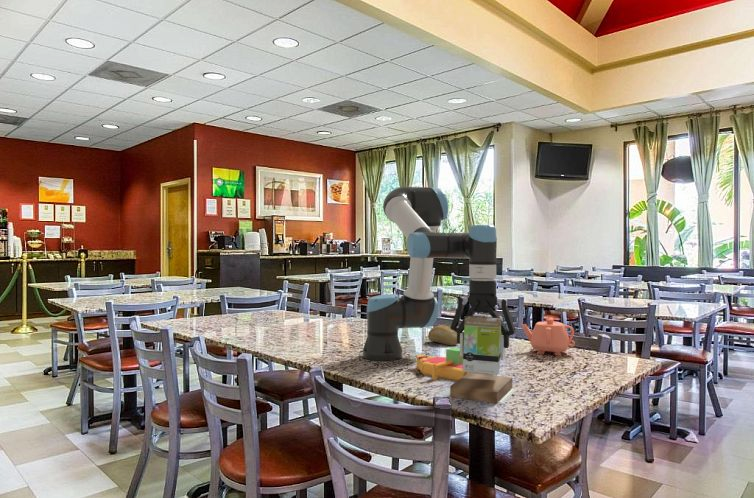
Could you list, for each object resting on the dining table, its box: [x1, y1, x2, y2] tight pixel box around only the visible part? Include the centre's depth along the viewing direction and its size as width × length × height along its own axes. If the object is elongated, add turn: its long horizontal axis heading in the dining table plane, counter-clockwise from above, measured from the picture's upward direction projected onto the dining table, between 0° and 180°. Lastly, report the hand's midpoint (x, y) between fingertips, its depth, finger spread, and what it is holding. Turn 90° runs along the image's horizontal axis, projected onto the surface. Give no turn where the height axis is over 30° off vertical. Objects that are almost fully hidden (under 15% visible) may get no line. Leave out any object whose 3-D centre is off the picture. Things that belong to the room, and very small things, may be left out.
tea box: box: [462, 313, 503, 376], centre depth 150 cm, size 15×10×15 cm
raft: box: [416, 347, 498, 381], centre depth 173 cm, size 23×30×9 cm
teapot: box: [521, 317, 576, 357], centre depth 210 cm, size 16×17×14 cm
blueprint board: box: [438, 386, 518, 405], centre depth 150 cm, size 18×16×1 cm
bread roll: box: [427, 324, 458, 347], centre depth 228 cm, size 10×15×8 cm, turn 45°
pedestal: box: [449, 373, 513, 404], centre depth 150 cm, size 13×17×3 cm
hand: (482, 357), depth 150 cm, fingers closed on tea box, 11 cm apart
